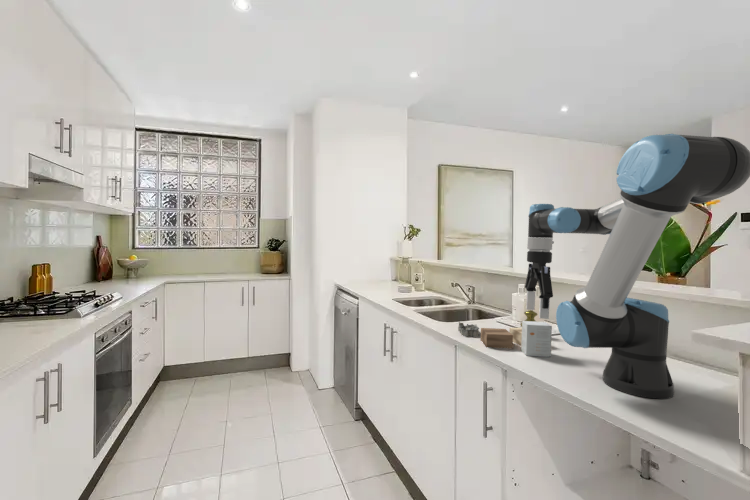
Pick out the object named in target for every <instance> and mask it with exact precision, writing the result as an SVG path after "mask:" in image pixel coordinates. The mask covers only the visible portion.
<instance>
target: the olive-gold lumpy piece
mask: <svg viewBox="0 0 750 500" xmlns="http://www.w3.org/2000/svg"><path fill="white" fill-rule="evenodd" d="M523 314H524V315H525V316H526V318H525V319H524V320H523V321H535V322H537V321H536V319H535V317H536V316H539V313H538V312H537V311H535V310H526V311H524V312H523ZM520 328H522V322H520Z"/></svg>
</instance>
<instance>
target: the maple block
mask: <svg viewBox="0 0 750 500" xmlns="http://www.w3.org/2000/svg"><path fill="white" fill-rule="evenodd" d="M508 332H510V333H511V334H512V335H513V343H514V344H516V345H518V346H520V347H521V343H522V327H509V330H508Z"/></svg>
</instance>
